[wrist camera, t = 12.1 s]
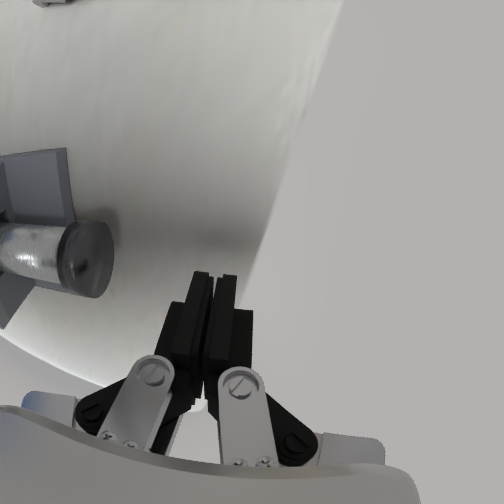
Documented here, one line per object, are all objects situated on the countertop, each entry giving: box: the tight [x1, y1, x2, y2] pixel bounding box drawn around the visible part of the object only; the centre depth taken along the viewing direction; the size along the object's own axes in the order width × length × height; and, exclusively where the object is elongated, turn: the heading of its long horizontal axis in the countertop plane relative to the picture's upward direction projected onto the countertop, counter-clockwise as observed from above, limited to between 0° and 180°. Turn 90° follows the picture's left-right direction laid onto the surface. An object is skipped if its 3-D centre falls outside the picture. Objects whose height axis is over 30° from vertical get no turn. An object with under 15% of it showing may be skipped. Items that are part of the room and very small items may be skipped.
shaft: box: [0, 220, 114, 298], centre depth 12 cm, size 11×4×4 cm, turn 84°
